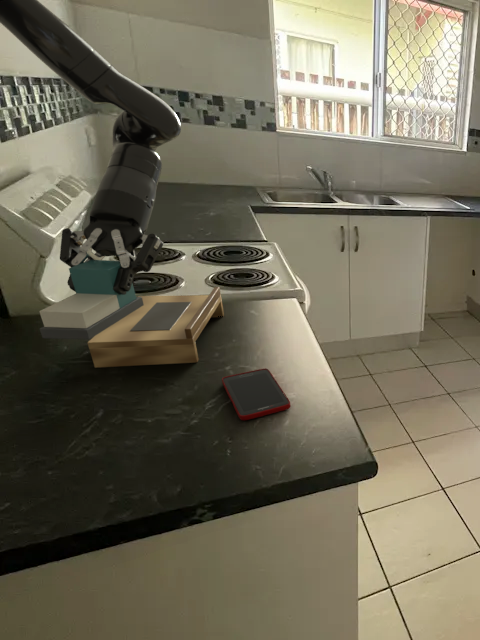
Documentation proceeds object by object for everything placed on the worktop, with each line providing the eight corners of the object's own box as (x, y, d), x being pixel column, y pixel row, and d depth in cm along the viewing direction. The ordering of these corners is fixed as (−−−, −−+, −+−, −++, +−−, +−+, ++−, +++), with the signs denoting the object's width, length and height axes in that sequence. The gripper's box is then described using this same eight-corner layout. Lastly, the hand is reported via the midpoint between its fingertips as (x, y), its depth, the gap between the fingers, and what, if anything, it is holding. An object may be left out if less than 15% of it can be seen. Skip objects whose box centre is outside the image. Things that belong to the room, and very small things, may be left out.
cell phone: (268, 371, 89) (267, 367, 88) (292, 408, 79) (292, 403, 78) (221, 382, 84) (220, 377, 84) (241, 422, 74) (240, 417, 74)
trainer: (89, 339, 69) (73, 287, 65) (42, 338, 68) (24, 285, 64) (143, 305, 81) (133, 259, 78) (105, 303, 80) (92, 257, 77)
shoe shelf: (94, 367, 85) (84, 332, 82) (143, 317, 106) (135, 287, 103) (197, 362, 90) (190, 328, 87) (224, 315, 110) (219, 286, 108)
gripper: (61, 183, 75) (26, 278, 70) (160, 190, 78) (134, 283, 72) (92, 211, 82) (63, 299, 77) (182, 217, 85) (160, 303, 79)
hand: (97, 291), depth 74 cm, fingers closed on trainer, 5 cm apart
